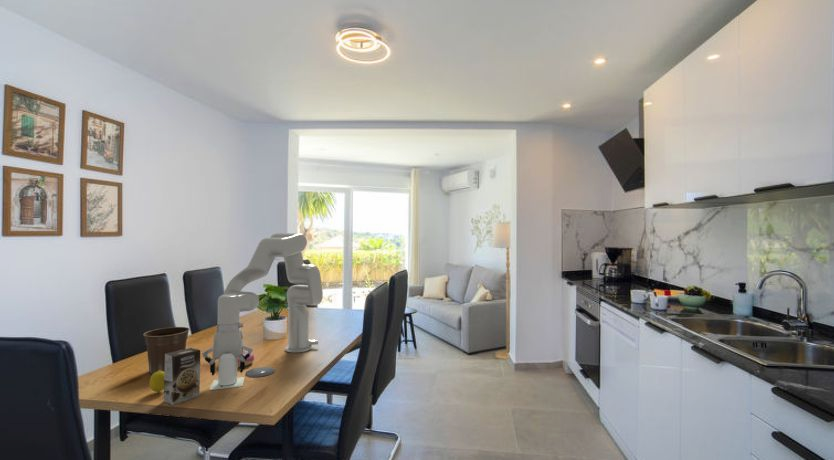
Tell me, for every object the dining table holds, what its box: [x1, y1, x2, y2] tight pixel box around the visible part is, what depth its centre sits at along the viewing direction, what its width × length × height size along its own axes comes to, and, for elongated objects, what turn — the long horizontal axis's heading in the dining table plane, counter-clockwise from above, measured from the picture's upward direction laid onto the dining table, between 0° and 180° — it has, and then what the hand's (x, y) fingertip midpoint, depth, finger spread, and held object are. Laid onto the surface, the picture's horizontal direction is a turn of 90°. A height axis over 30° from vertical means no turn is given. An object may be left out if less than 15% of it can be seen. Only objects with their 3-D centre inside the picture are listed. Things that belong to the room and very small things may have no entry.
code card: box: [208, 376, 246, 391], centre depth 148 cm, size 11×10×1 cm
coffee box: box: [163, 347, 201, 406], centre depth 134 cm, size 9×6×16 cm
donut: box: [237, 350, 255, 369], centre depth 169 cm, size 14×13×5 cm
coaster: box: [245, 366, 276, 378], centre depth 160 cm, size 11×11×1 cm
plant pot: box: [142, 326, 191, 375], centre depth 162 cm, size 16×16×16 cm
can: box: [217, 353, 238, 386], centre depth 148 cm, size 6×6×12 cm
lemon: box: [149, 370, 164, 394], centre depth 139 cm, size 6×6×8 cm
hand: (227, 372), depth 148 cm, fingers open, 9 cm apart
